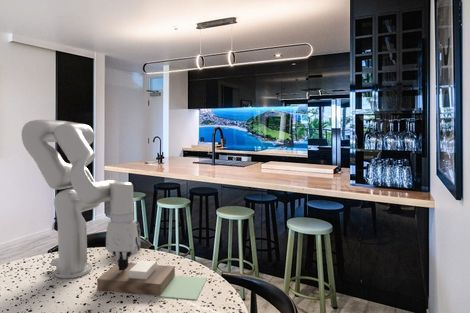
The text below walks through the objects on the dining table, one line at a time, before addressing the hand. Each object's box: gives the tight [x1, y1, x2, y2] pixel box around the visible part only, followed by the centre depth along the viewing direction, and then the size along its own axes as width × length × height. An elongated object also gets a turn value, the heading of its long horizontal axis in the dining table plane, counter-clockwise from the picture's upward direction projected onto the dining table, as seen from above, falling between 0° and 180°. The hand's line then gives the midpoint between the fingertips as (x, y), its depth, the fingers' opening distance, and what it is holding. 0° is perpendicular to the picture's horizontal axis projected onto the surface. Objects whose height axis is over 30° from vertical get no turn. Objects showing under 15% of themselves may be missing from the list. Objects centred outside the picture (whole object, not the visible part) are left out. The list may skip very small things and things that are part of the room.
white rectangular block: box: [129, 259, 157, 279], centre depth 110 cm, size 6×9×2 cm, turn 172°
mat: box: [159, 275, 208, 301], centre depth 108 cm, size 12×15×1 cm
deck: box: [96, 262, 176, 297], centre depth 110 cm, size 22×14×4 cm, turn 82°
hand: (123, 268), depth 111 cm, fingers closed
